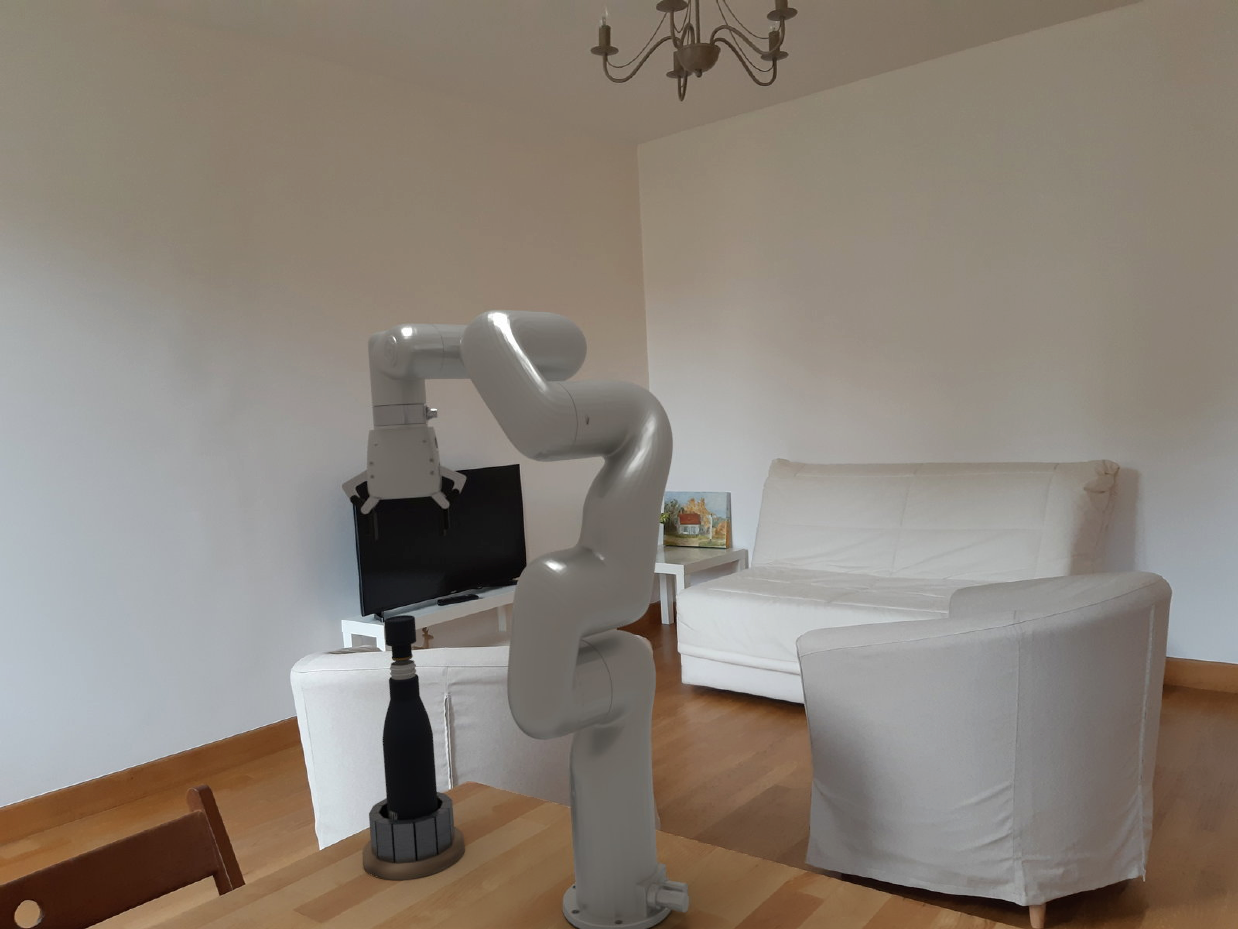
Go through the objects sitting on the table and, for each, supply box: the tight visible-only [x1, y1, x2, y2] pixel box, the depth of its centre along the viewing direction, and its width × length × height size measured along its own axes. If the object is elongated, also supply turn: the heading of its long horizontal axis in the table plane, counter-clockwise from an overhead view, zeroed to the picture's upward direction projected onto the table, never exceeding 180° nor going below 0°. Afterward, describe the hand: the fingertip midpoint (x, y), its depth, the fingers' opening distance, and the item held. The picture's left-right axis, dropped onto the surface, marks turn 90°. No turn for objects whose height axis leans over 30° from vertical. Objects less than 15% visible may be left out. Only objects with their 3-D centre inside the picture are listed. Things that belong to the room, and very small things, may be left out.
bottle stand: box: [361, 791, 465, 881], centre depth 122 cm, size 13×13×6 cm
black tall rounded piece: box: [382, 614, 438, 821], centre depth 122 cm, size 6×6×30 cm
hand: (408, 538), depth 133 cm, fingers open, 9 cm apart
